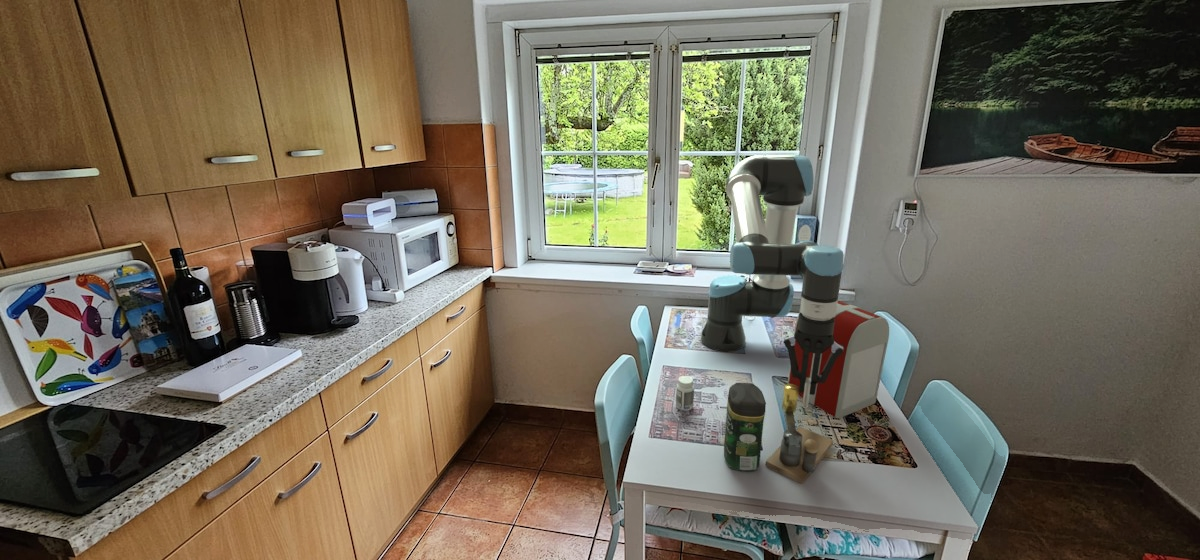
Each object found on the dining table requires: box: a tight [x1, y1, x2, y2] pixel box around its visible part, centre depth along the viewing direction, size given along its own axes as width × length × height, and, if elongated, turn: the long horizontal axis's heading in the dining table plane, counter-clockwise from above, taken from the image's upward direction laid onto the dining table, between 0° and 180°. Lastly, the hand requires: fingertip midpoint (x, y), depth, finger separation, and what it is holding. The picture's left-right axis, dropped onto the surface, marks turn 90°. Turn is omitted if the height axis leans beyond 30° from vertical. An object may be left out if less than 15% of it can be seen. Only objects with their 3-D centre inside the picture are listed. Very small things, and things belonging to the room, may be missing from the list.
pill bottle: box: [675, 375, 695, 411], centre depth 133 cm, size 5×5×8 cm
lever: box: [781, 383, 802, 456], centre depth 113 cm, size 4×17×8 cm, turn 164°
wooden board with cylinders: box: [764, 425, 834, 485], centre depth 114 cm, size 10×18×9 cm, turn 136°
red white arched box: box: [786, 300, 890, 419], centre depth 135 cm, size 17×18×27 cm
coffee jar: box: [723, 382, 767, 472], centre depth 111 cm, size 10×8×19 cm
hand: (805, 404), depth 118 cm, fingers closed
